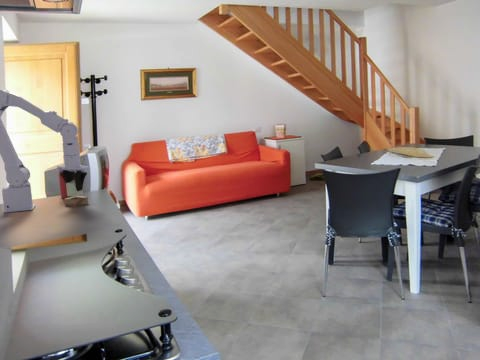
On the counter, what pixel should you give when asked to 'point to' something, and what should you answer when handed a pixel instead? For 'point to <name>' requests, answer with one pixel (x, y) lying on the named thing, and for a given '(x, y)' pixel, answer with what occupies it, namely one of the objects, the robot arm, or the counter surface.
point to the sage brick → (73, 189)
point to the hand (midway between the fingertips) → (75, 190)
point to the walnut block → (76, 201)
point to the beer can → (63, 187)
